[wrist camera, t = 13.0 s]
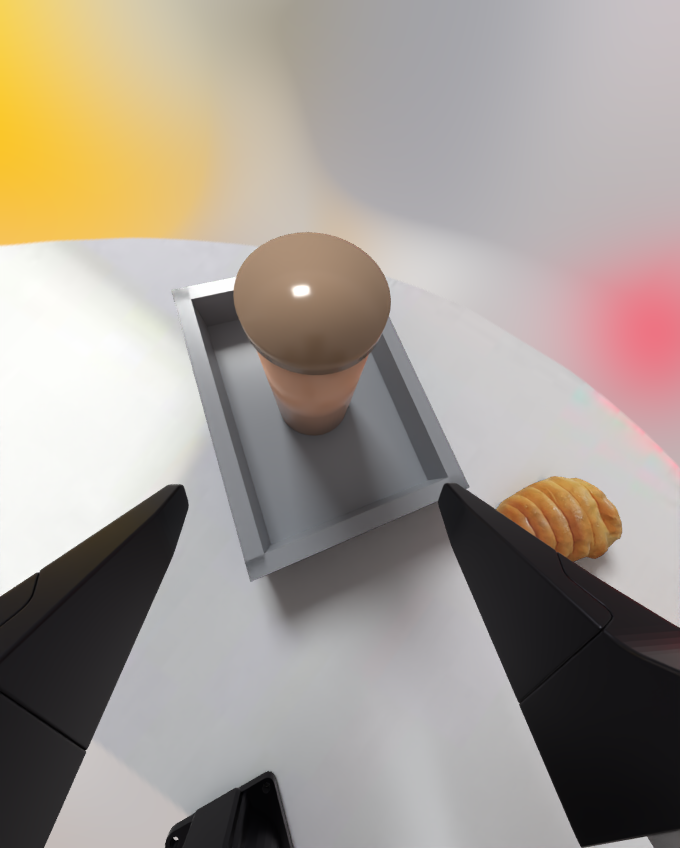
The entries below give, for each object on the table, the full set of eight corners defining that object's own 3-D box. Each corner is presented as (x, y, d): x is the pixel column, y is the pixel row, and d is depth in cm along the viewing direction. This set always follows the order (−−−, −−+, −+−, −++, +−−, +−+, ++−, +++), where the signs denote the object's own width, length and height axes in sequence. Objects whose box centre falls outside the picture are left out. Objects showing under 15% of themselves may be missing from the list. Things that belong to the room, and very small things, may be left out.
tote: (440, 489, 24) (469, 487, 19) (262, 564, 21) (250, 581, 16) (350, 289, 28) (358, 252, 24) (194, 325, 25) (171, 290, 21)
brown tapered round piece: (344, 443, 23) (383, 376, 10) (269, 431, 22) (214, 347, 10) (353, 375, 25) (396, 248, 12) (284, 363, 24) (253, 219, 12)
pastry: (503, 572, 23) (540, 586, 19) (477, 491, 24) (507, 490, 21) (594, 546, 24) (644, 555, 21) (564, 472, 26) (606, 468, 22)
